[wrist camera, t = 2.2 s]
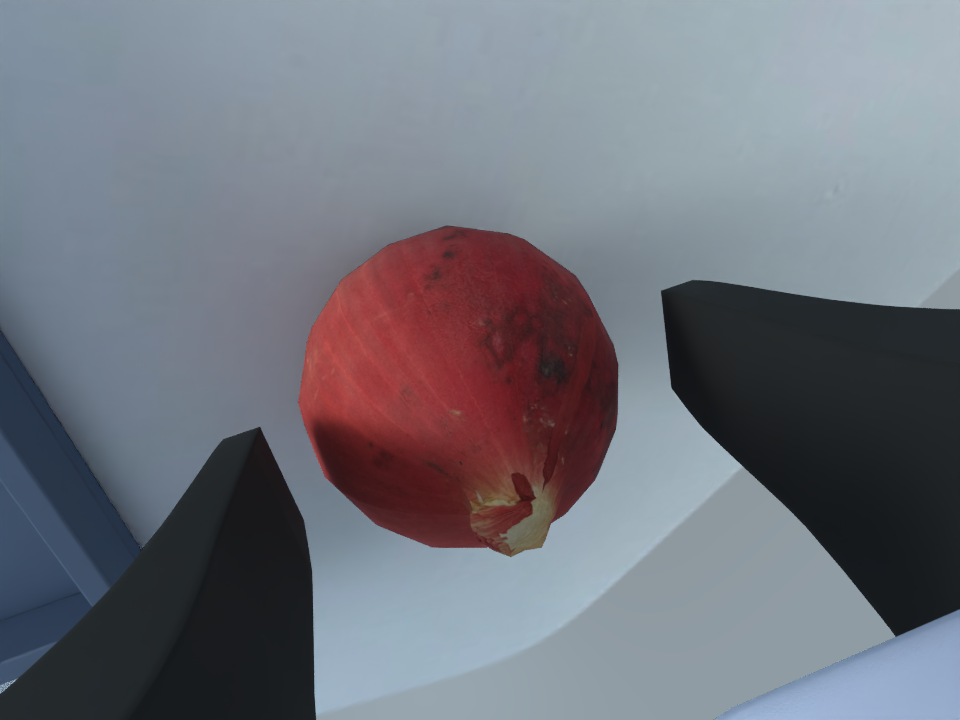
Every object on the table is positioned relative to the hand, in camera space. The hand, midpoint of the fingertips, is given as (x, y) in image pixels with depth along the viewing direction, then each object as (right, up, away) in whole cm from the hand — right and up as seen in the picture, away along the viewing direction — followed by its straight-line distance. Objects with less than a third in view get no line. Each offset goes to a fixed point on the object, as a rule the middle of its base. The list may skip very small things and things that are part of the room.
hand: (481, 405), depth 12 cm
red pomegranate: (-1, +2, +5) cm, 5 cm away
